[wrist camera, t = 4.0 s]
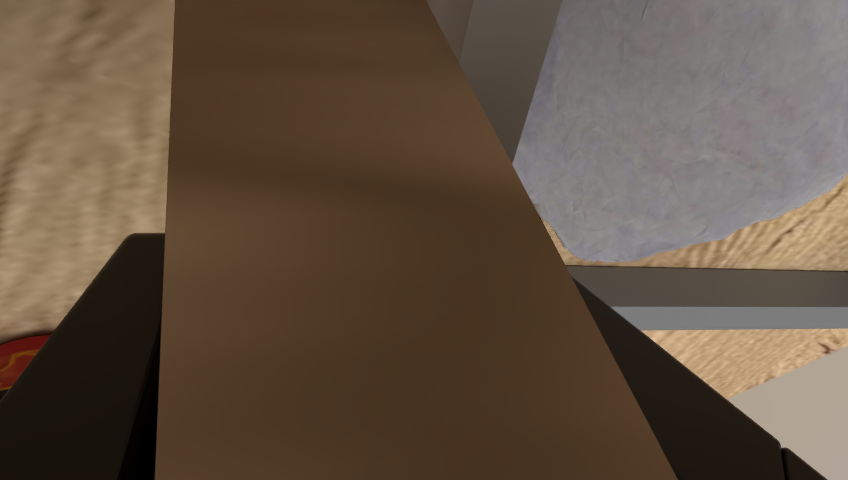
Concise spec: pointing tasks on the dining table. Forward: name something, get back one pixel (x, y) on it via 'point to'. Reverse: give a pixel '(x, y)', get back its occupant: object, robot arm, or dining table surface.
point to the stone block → (684, 120)
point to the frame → (720, 297)
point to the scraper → (373, 255)
